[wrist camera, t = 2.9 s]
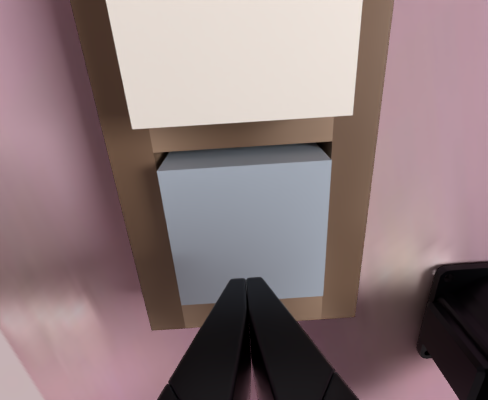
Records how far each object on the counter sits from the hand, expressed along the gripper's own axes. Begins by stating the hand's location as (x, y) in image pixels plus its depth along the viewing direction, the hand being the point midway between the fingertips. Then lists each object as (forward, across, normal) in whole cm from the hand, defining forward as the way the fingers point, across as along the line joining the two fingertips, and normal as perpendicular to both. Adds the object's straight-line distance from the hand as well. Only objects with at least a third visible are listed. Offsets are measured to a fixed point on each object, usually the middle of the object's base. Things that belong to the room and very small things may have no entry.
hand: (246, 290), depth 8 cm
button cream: (+5, 0, -7) cm, 8 cm away
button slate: (+6, 0, 0) cm, 6 cm away
